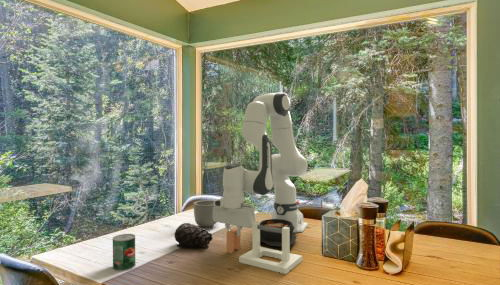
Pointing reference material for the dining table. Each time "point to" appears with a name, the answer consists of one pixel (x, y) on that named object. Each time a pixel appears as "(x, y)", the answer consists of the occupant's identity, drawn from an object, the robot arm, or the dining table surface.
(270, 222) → the casserole
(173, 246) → the dining table surface
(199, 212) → the planter
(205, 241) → the pine cone
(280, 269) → the toilet paper holder
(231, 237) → the orange block
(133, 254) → the canned tomato
